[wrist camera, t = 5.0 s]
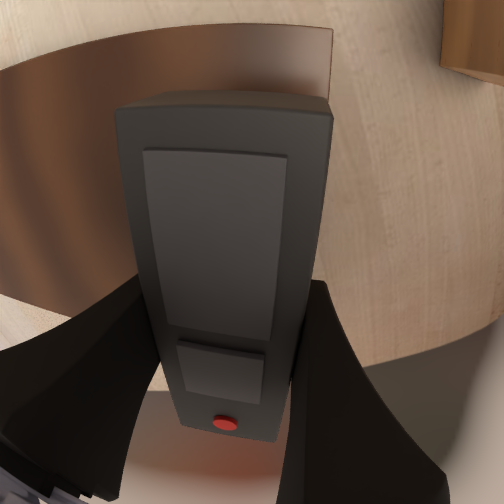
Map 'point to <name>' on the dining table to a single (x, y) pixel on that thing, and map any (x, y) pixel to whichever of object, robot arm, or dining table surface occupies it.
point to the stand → (474, 39)
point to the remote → (225, 243)
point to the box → (114, 142)
